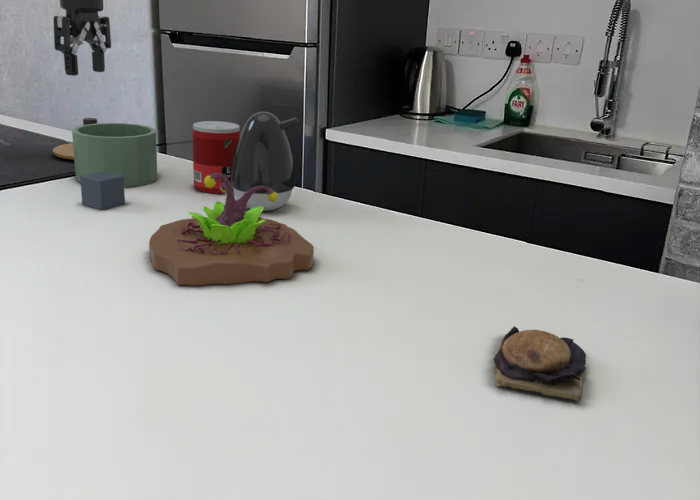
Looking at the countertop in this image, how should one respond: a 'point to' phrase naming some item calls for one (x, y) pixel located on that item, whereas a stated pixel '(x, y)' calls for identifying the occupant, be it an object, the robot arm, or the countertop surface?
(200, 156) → the canned food
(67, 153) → the lid
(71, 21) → the robot arm
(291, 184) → the pump dispenser
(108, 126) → the tin
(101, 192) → the block
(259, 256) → the plant
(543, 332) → the toy sandwich
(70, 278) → the countertop surface
